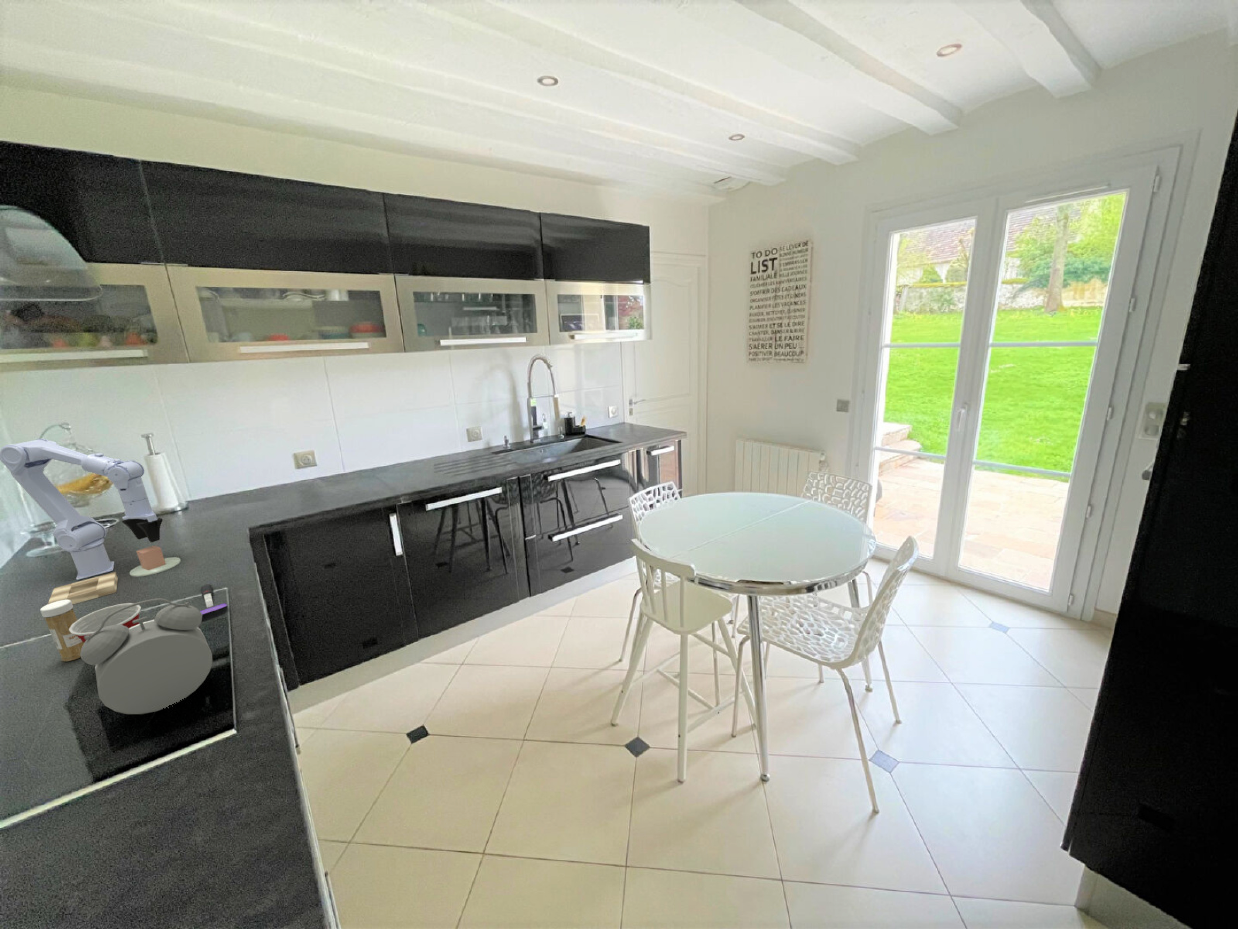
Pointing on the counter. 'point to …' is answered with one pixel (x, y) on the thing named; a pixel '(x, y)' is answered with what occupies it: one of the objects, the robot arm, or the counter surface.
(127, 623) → the plastic cup
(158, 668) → the alarm clock
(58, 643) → the sprinkles bottle
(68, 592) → the maple pocket holder
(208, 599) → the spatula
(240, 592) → the counter surface
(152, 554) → the terracotta block
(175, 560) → the sage coaster
